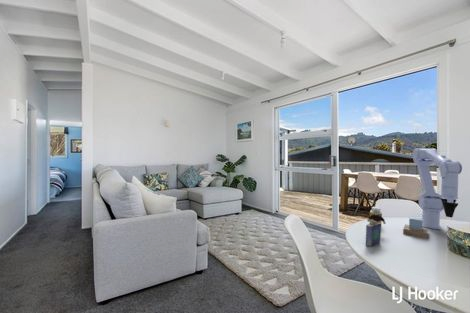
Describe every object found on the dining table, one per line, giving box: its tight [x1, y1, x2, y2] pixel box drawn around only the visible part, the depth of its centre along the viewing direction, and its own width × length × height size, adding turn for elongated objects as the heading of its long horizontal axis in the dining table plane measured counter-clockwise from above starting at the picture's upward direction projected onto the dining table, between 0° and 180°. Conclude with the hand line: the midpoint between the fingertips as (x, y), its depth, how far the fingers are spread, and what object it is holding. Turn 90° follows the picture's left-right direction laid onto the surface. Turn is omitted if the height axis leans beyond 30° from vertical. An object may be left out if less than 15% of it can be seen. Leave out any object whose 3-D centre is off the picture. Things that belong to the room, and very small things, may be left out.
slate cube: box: [408, 216, 423, 231], centre depth 114 cm, size 5×5×5 cm
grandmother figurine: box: [367, 208, 386, 225], centre depth 113 cm, size 8×4×13 cm, turn 68°
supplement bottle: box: [368, 206, 383, 224], centre depth 124 cm, size 6×6×10 cm
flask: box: [365, 219, 382, 247], centre depth 100 cm, size 9×3×11 cm, turn 121°
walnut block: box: [402, 224, 429, 239], centre depth 114 cm, size 9×9×3 cm
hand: (448, 215), depth 110 cm, fingers open, 7 cm apart
